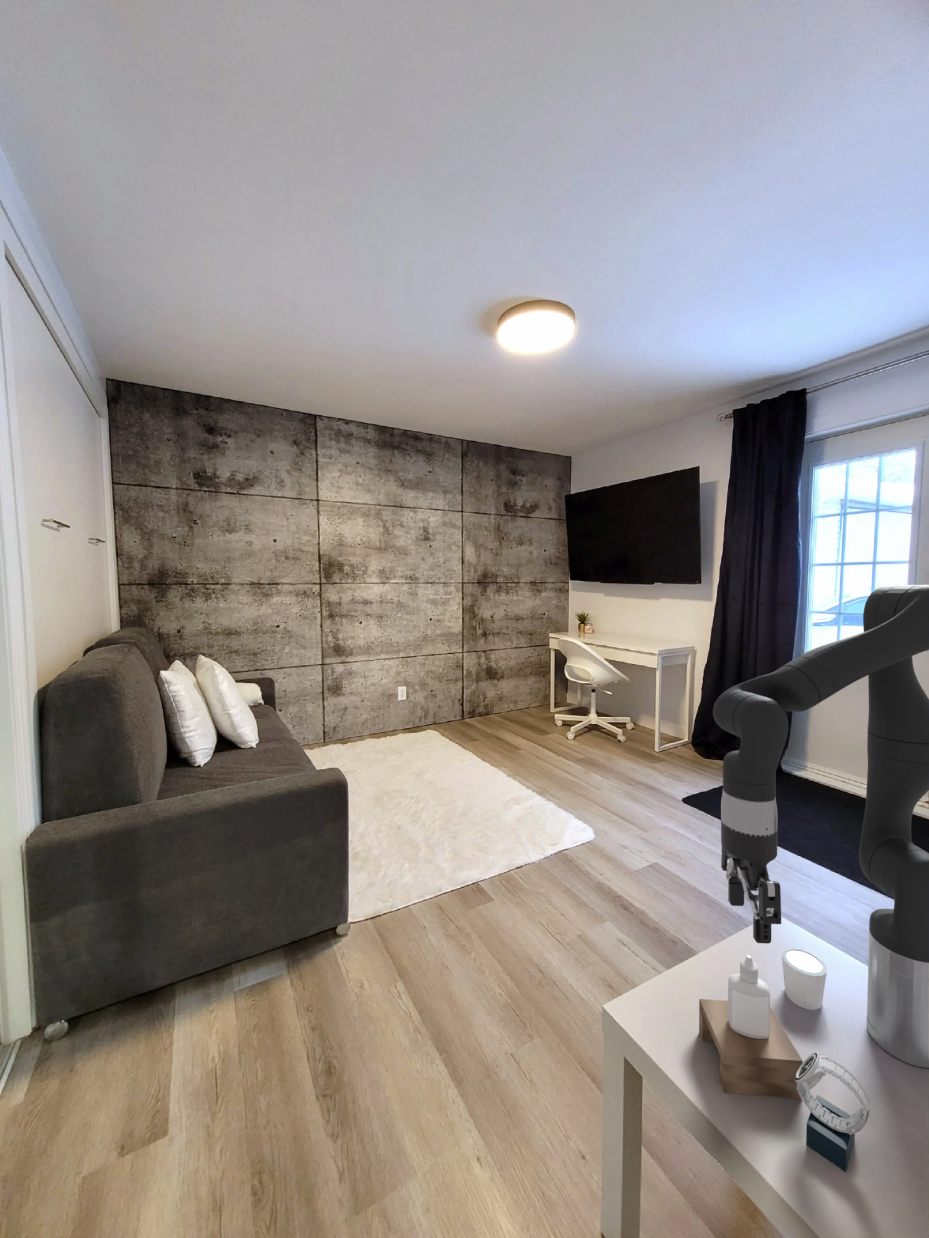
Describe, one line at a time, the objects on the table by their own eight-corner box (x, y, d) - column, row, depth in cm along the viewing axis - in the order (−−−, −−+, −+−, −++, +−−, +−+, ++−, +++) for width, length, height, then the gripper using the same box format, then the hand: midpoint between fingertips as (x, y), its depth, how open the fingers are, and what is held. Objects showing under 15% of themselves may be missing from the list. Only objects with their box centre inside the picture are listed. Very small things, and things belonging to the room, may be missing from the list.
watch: (800, 1104, 71) (801, 1033, 71) (871, 1150, 65) (873, 1072, 65) (789, 1133, 67) (790, 1058, 67) (863, 1185, 62) (865, 1103, 61)
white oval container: (811, 983, 93) (812, 947, 92) (835, 1014, 86) (836, 976, 85) (773, 980, 93) (774, 945, 93) (794, 1011, 87) (794, 974, 86)
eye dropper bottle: (764, 1050, 73) (764, 974, 73) (724, 1026, 77) (724, 954, 77) (772, 1031, 76) (773, 958, 76) (734, 1009, 80) (734, 940, 80)
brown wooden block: (767, 1037, 82) (768, 1003, 81) (802, 1099, 72) (802, 1060, 72) (699, 1032, 83) (699, 998, 83) (723, 1092, 73) (724, 1054, 73)
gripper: (801, 845, 68) (800, 957, 69) (752, 801, 82) (752, 894, 83) (744, 844, 68) (744, 955, 69) (705, 800, 82) (705, 892, 83)
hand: (748, 921), depth 76 cm, fingers open, 8 cm apart
